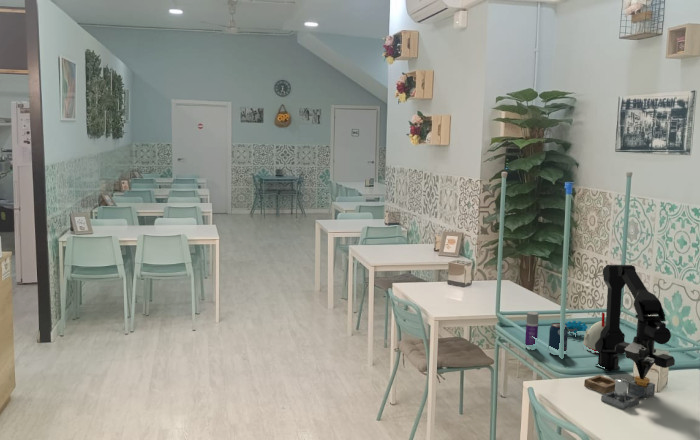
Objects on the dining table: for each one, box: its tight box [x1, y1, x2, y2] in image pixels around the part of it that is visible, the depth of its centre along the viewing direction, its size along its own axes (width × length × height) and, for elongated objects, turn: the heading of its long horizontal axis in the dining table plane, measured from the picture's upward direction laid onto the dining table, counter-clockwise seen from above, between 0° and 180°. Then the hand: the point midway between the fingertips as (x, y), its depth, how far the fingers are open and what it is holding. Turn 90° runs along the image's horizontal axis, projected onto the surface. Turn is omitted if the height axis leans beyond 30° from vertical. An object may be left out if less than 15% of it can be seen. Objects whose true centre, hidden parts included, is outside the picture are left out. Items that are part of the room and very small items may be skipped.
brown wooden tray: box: [583, 374, 615, 395], centre depth 234 cm, size 8×8×2 cm
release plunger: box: [634, 375, 651, 386], centre depth 228 cm, size 5×5×5 cm
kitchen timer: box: [583, 312, 606, 351], centre depth 273 cm, size 14×14×15 cm
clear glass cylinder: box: [614, 377, 629, 402], centre depth 221 cm, size 4×4×8 cm
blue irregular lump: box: [564, 320, 588, 334], centre depth 290 cm, size 11×6×10 cm
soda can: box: [548, 322, 569, 351], centre depth 267 cm, size 7×7×12 cm
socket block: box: [600, 379, 656, 410], centre depth 224 cm, size 8×19×4 cm, turn 125°
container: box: [524, 311, 539, 345], centre depth 272 cm, size 5×5×15 cm
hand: (642, 378), depth 228 cm, fingers closed, pressing on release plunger
